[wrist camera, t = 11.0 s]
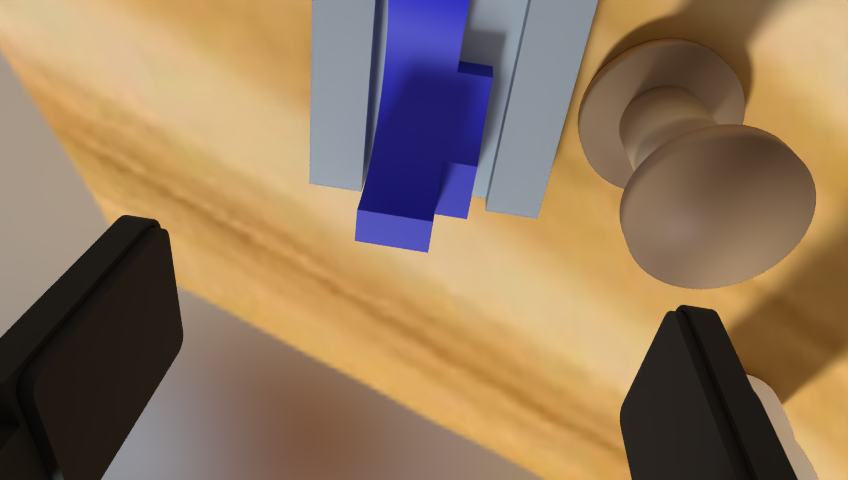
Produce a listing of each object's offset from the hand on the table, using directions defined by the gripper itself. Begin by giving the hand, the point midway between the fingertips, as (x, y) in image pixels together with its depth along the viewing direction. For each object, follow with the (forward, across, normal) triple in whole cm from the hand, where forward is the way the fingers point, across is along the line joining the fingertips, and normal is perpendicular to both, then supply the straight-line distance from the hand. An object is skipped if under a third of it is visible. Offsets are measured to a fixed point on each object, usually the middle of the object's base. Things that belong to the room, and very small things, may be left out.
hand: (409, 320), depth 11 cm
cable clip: (+17, +1, 0) cm, 17 cm away
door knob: (+18, -10, +2) cm, 21 cm away
